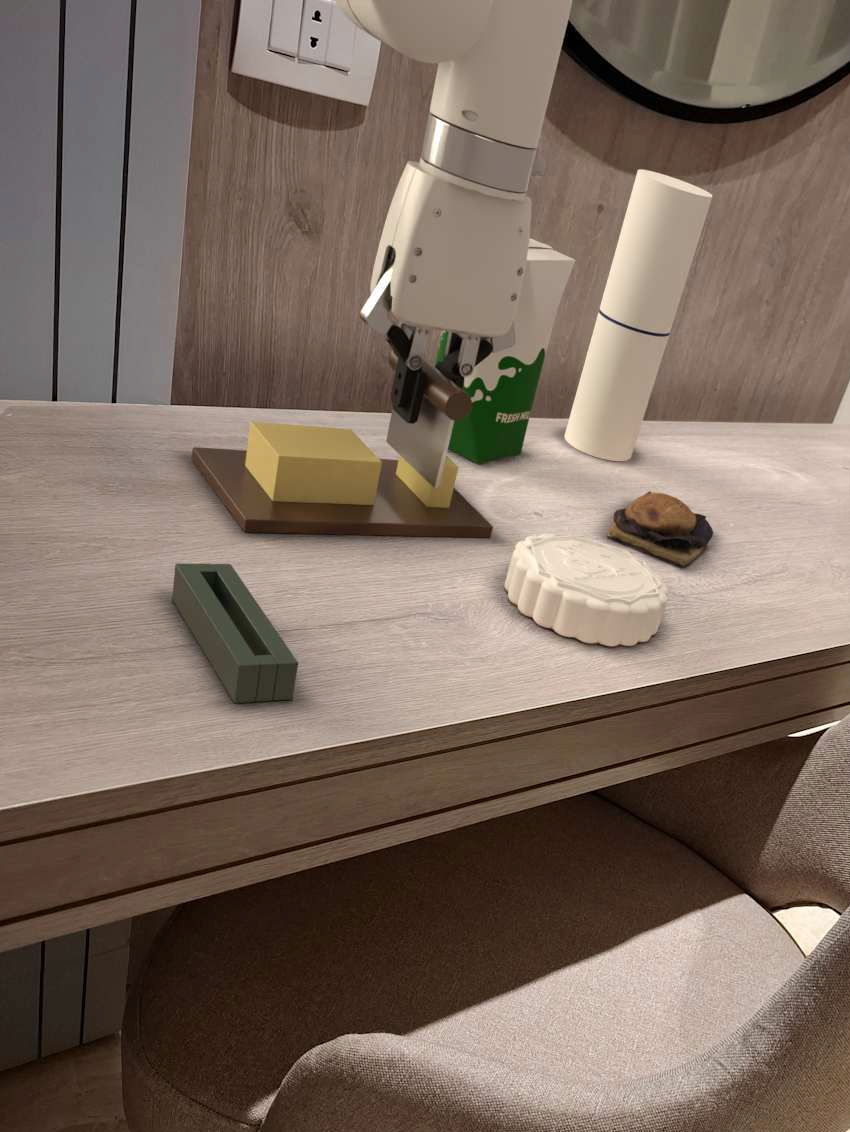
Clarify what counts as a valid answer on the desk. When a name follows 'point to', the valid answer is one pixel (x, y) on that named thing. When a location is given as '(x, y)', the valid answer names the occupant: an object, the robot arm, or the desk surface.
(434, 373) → the butter cutter
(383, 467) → the butter board
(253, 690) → the holder
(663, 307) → the cylindrical container
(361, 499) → the butter block
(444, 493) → the butter slice
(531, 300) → the milk carton
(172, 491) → the desk surface
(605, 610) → the mooncake
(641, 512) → the open sandwich
